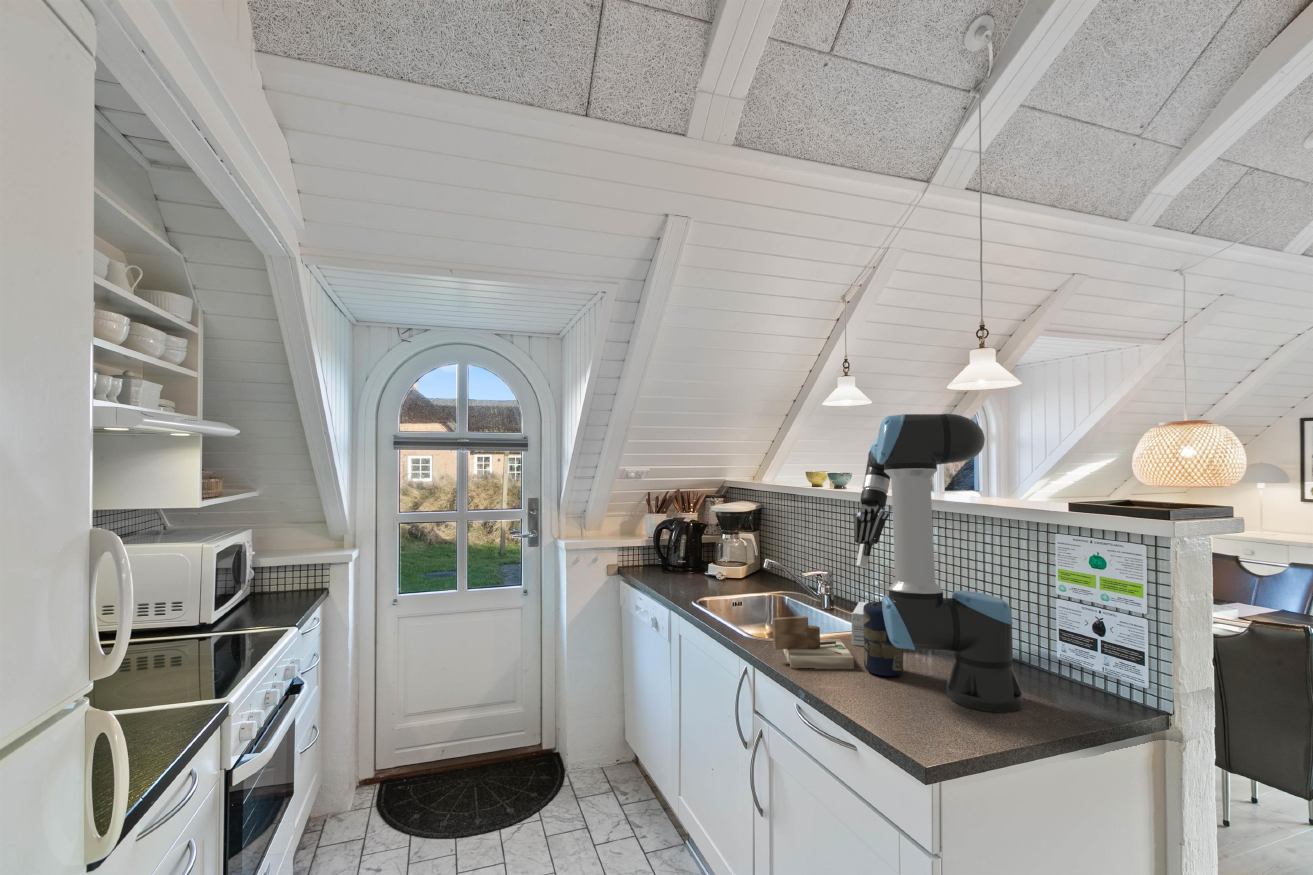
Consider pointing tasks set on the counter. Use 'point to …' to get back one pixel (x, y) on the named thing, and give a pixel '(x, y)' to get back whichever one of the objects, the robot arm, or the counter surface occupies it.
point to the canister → (879, 643)
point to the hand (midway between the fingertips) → (861, 566)
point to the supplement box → (858, 624)
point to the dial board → (821, 656)
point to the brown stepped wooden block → (796, 633)
